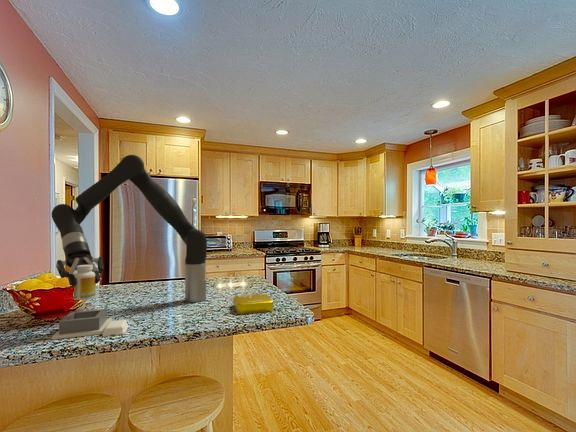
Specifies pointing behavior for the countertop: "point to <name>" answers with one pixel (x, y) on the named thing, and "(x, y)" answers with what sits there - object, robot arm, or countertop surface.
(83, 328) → the pocket plate
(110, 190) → the robot arm
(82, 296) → the supplement bottle
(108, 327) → the soap
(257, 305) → the element tile
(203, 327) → the countertop surface
